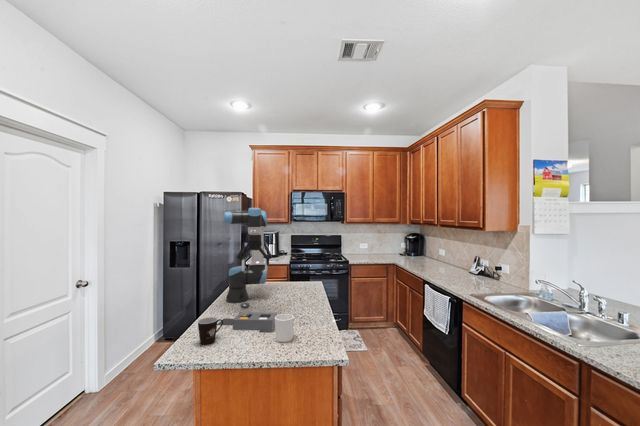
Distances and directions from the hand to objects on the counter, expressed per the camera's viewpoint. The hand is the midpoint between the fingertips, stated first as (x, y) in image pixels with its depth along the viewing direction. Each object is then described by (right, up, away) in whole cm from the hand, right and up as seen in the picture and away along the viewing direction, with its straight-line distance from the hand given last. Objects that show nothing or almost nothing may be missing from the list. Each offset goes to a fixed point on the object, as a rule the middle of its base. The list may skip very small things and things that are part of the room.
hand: (254, 270), depth 168 cm
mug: (+22, -26, -31) cm, 46 cm away
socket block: (+4, -26, -17) cm, 32 cm away
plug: (-1, -24, -17) cm, 30 cm away
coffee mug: (-13, -26, -34) cm, 45 cm away
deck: (-11, -27, -11) cm, 31 cm away
